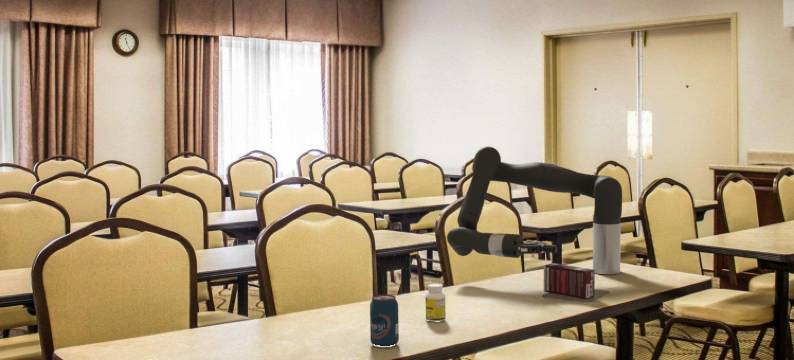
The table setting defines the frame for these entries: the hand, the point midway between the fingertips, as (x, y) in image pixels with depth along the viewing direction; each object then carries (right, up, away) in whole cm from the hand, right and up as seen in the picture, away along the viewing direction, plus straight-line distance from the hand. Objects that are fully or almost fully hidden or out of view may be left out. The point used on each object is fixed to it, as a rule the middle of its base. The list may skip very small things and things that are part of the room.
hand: (556, 249), depth 279 cm
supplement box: (-3, -9, +1) cm, 9 cm away
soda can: (-52, -19, -57) cm, 80 cm away
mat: (+6, -14, -2) cm, 15 cm away
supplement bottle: (-39, -17, -33) cm, 54 cm away
